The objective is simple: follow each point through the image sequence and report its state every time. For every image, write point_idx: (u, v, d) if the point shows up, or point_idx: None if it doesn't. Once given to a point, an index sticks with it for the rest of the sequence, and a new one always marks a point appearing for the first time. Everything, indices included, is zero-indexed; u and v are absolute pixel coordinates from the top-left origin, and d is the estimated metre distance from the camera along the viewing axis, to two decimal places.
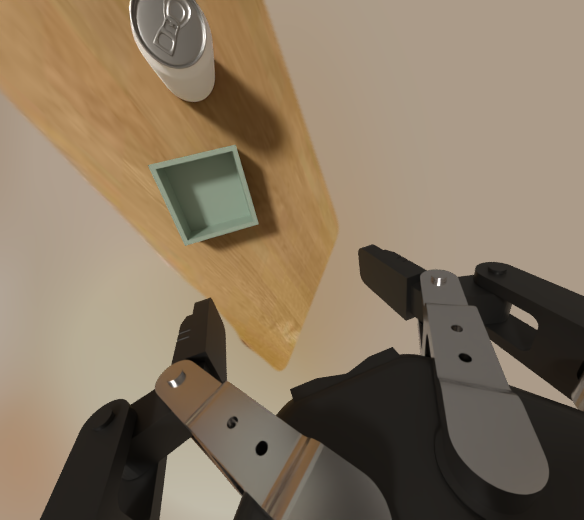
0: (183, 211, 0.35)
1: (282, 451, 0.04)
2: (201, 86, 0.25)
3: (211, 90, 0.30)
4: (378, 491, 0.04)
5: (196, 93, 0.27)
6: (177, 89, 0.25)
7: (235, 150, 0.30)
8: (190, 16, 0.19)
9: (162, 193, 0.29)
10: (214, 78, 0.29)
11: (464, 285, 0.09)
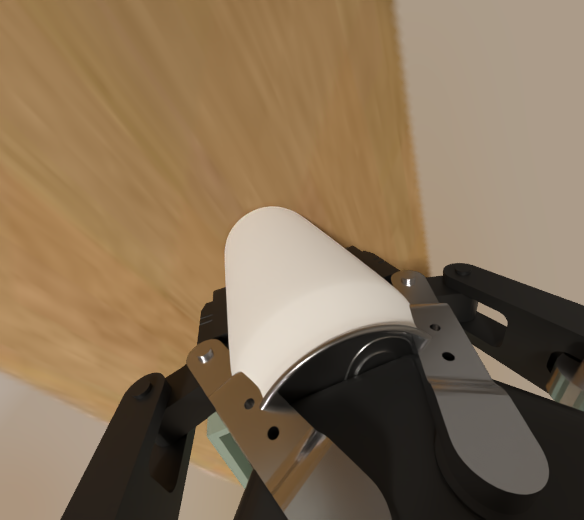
0: None
1: (292, 440, 0.05)
2: None
3: None
4: (383, 499, 0.03)
5: None
6: None
7: None
8: None
9: (226, 459, 0.17)
10: None
11: (433, 285, 0.09)
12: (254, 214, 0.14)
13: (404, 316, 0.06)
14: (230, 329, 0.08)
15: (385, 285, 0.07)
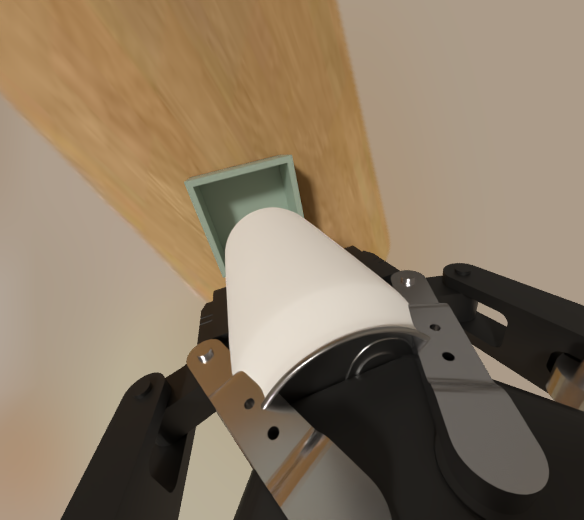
0: (218, 233, 0.29)
1: (292, 439, 0.05)
2: None
3: None
4: (383, 499, 0.03)
5: None
6: None
7: (291, 162, 0.24)
8: None
9: (199, 216, 0.23)
10: None
11: (433, 285, 0.09)
12: (254, 215, 0.14)
13: (404, 318, 0.06)
14: (231, 330, 0.08)
15: (385, 287, 0.07)
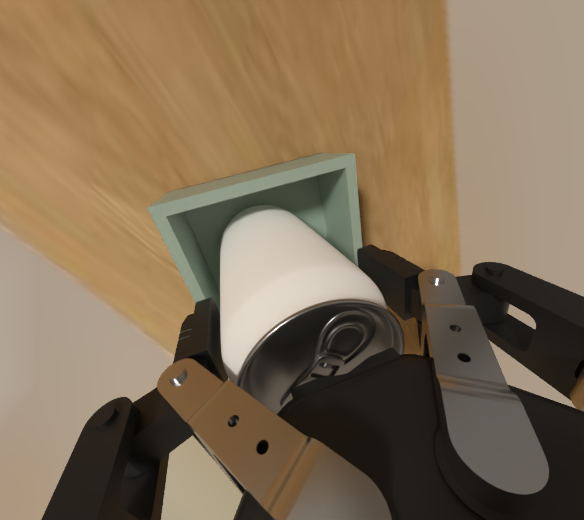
0: (216, 280, 0.18)
1: (283, 450, 0.04)
2: None
3: None
4: (378, 492, 0.03)
5: None
6: None
7: (352, 166, 0.13)
8: (373, 338, 0.08)
9: (181, 269, 0.12)
10: None
11: (462, 285, 0.09)
12: (247, 211, 0.15)
13: (367, 294, 0.07)
14: (221, 310, 0.09)
15: (353, 269, 0.08)
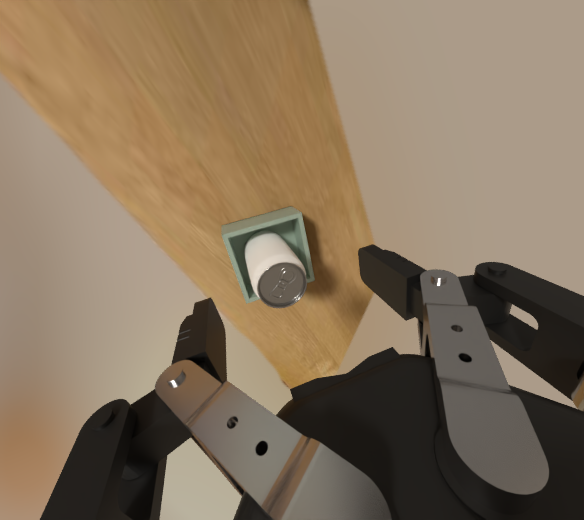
0: (241, 267, 0.36)
1: (281, 451, 0.04)
2: None
3: None
4: (378, 491, 0.04)
5: None
6: None
7: (300, 217, 0.31)
8: (296, 276, 0.26)
9: (231, 258, 0.31)
10: None
11: (464, 285, 0.09)
12: (257, 234, 0.33)
13: (294, 262, 0.26)
14: (250, 270, 0.27)
15: (291, 256, 0.26)
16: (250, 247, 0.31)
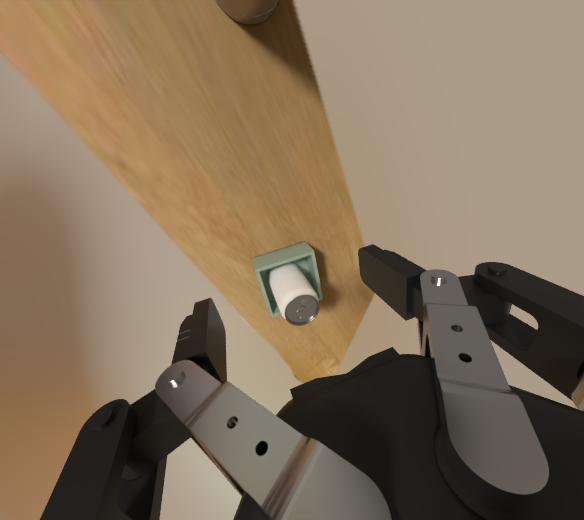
0: (265, 288, 0.46)
1: (282, 451, 0.04)
2: None
3: None
4: (378, 491, 0.04)
5: None
6: None
7: (313, 254, 0.41)
8: (312, 303, 0.36)
9: (261, 286, 0.41)
10: None
11: (464, 285, 0.09)
12: (279, 265, 0.43)
13: (310, 293, 0.36)
14: (278, 297, 0.37)
15: (308, 288, 0.36)
16: (275, 277, 0.41)
